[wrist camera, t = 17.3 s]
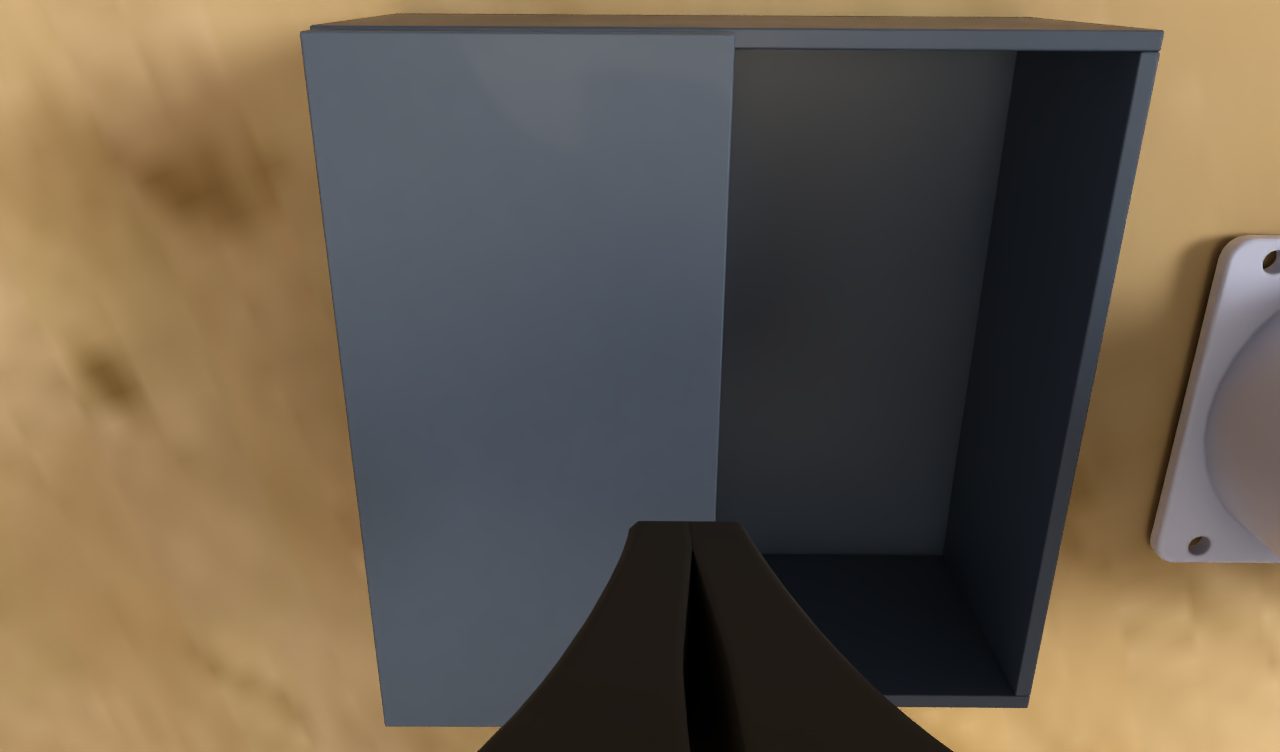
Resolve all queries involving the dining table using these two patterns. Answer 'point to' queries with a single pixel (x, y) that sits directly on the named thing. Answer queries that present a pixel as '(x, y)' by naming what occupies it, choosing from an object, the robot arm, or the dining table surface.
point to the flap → (518, 329)
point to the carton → (910, 315)
